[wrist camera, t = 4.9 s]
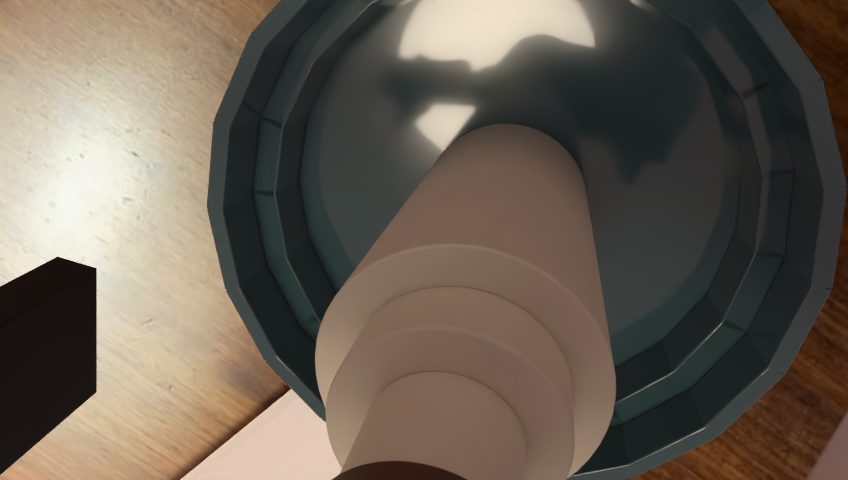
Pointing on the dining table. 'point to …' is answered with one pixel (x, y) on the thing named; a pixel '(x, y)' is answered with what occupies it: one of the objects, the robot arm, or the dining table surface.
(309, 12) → the bowl
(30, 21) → the dining table surface
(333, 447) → the bottle
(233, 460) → the beige square board
